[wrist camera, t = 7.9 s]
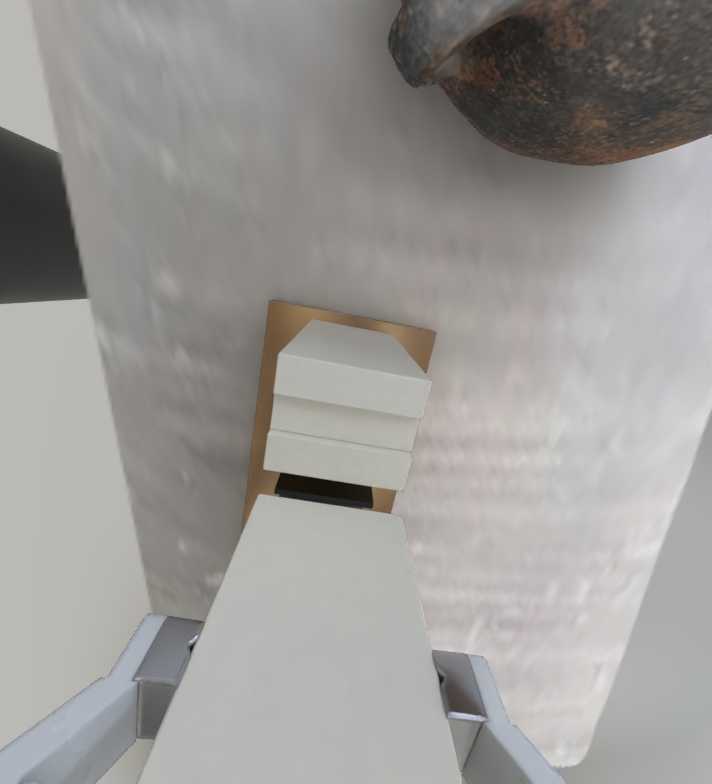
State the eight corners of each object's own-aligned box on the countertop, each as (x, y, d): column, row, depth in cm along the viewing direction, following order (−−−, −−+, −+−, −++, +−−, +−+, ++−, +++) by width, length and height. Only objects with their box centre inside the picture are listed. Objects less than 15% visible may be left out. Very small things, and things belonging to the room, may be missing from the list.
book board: (240, 559, 33) (237, 568, 32) (272, 299, 26) (269, 300, 25) (371, 578, 33) (372, 586, 32) (433, 330, 27) (436, 332, 26)
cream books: (302, 383, 27) (262, 470, 14) (312, 318, 26) (277, 352, 13) (378, 397, 27) (404, 492, 15) (392, 334, 26) (433, 381, 14)
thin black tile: (291, 444, 28) (273, 494, 22) (292, 439, 28) (274, 488, 21) (366, 456, 29) (372, 509, 22) (367, 452, 29) (373, 503, 22)
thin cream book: (254, 525, 15) (-169, 1619, 3) (258, 492, 15) (-224, 1622, 2) (393, 546, 16) (569, 1569, 3) (402, 514, 15) (645, 1567, 3)
